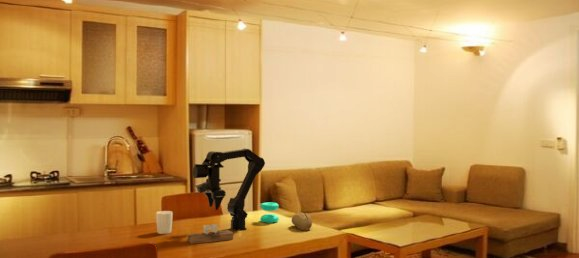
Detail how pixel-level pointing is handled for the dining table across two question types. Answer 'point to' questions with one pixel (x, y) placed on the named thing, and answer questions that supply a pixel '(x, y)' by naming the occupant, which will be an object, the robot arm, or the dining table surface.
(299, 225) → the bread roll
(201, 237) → the rail
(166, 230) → the white cup
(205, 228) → the grey arch block
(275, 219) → the donuts
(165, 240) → the dining table surface
